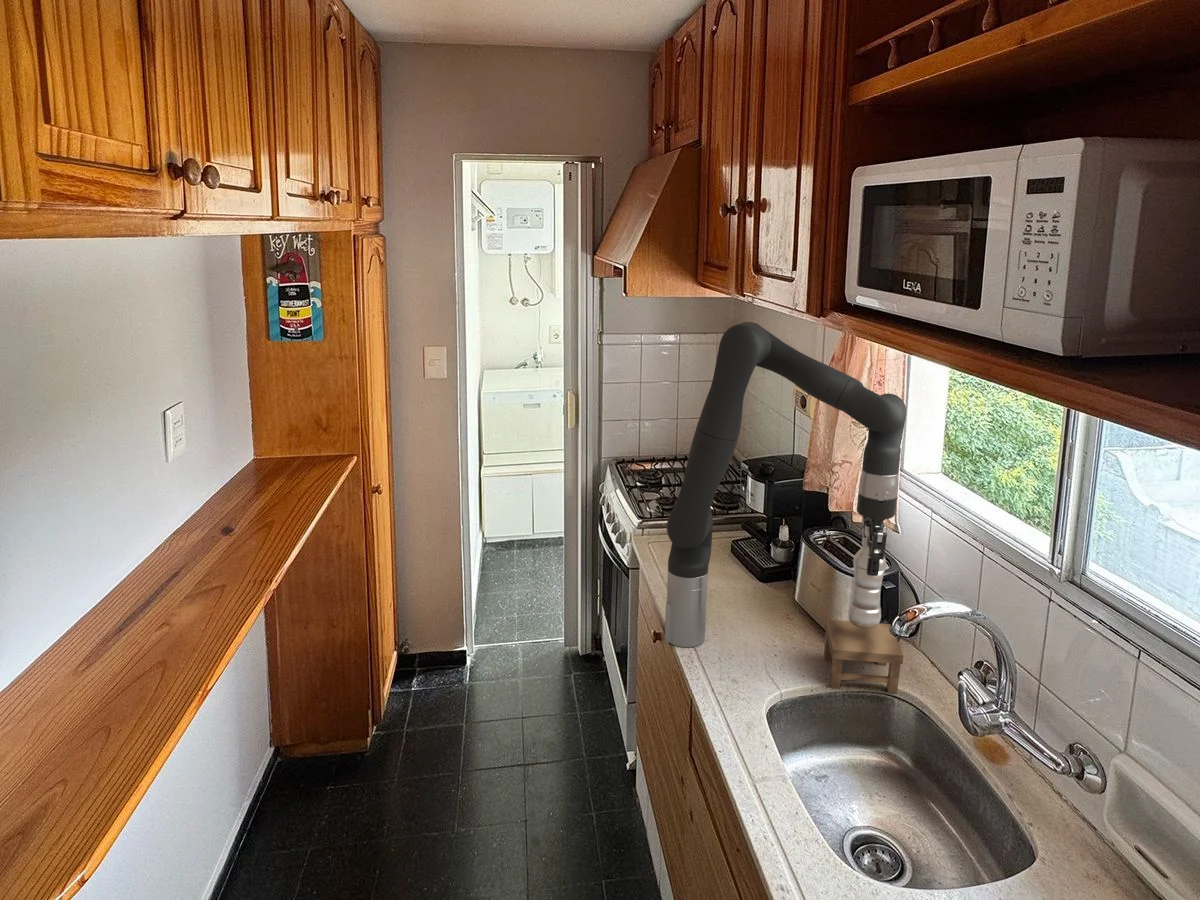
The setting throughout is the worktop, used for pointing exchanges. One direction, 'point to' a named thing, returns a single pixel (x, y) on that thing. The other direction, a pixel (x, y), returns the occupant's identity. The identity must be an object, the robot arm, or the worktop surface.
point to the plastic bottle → (866, 591)
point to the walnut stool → (862, 651)
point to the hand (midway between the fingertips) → (869, 568)
